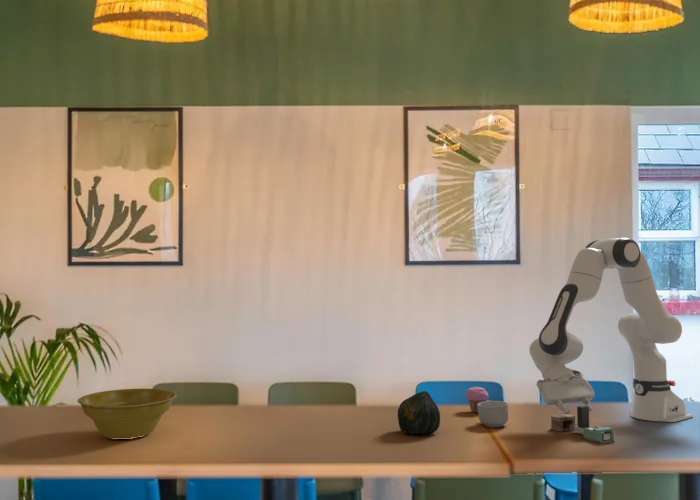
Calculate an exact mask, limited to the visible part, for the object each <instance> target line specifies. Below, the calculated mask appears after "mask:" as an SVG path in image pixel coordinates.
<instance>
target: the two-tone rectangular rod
mask: <svg viewBox="0 0 700 500" xmlns="http://www.w3.org/2000/svg"><path fill="white" fill-rule="evenodd" d="M576 412H577V413H576V414H577V417H576V419H577V423H575V424H571V425H570V430H569V431H572V432H576V433H580V434H583V435H584V428H589V429H592V430H593V429H594V428H593V427H590V412H589V407H587V406H585V405H578V406H576ZM608 439H610V433H607V432H602V440H608Z"/></svg>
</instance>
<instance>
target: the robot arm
mask: <svg viewBox="0 0 700 500" xmlns="http://www.w3.org/2000/svg"><path fill="white" fill-rule="evenodd" d="M615 268H616V269H617V271H618V276H619V277H618V278H619V281H620V285H621V289H622V291H623V292H622V293H623V296H624V299H625V302H626V303H627V304H628V306H631V307H632V308H633V310H634V312H630V313H626V314H623V315H622V316H621V317H620V319H619V320H618V323H617V325H618V331H619V333H620V335H621V336H622V337H623V338H624V339H625V340H626V342H627V344H628V346H629V350H630V351H631V355H632V360H633V376H634V378H633V379H632V387H633V389H634V390H633V392H632V401H631V402H632V404H631V409H630V417H632V418H635V419H639V420H642V421H649V422H650V421H651V422H665V423H675V422H679V421H683V420H688V419H691V418H693V414H692V413H690V412H686V405H685V402H684V400H683V399H682V398H681V397H679V396H678V395H677V394H676V393H674V392H673V391H672V389H671V387H675V386H677V385H676V381H675V380H668V378H667V377H668V375H667V359H666V358H665V356H664V355H663V354H661V352H660V351H659V350H658V347H657V345H656V344H658V345H659V344H661V345H666V344H672V343H675V342H677V341H678V340H680V338H681V336H682V333H683V327H682V324H681V322H680V320H679V319H678V318H676V317H675V316H674V315H673V314H672V313H670V312H669V311H668V309H667V308H666V306H664V304H663V303H662V301H661V299H660V297H659V295H658V292H657V290H656V286H655V283H654V280H653V275H652V271H651V269H650V266H649V263H648V261H647V259H646V256H645V255H644V253H643V252H642V251H641V249H640V246H639V244H638V243H637V242H636V241H635V240H634V239H632V238H628V237H611V238H610V237H609V238H607V239H606V238H605V239H600V240H599V239H598V240H594V241H592V242H591V241H590V242H589V243H588V244H587V245H586V246H585V247H584V248H582V249H580V250H579V251H578V253H577V255H576V256H575V259H574V260H573V263H572V265H571V269H570V271H569V275H568V278H567V281H566V283H565V285H564V286H563V287H562V288H561V290H560V292H559V293H558V296H557V298H556V300H555V303H554V305H553V308H552V311H551V313H550V316H549V318H548V320H547V322H546V324H545V325H544V326H543V328H542V329H541V331H540V332H539V335H538V337H537V338H536V339H534V340H533V341H532V342H531V343H530V344H529V345H530V346H529V355H530V357H531V359H532V362H533V363H534V365H535V367H536V368H537V370H538V371H539V372H540V373H541V377H542V378H543V379H538V380H537V381H536V387H537V388H538V392H539V394H540V397H541V398H542V400H543V402H544V403H545V404H546V405H547V406H551V405H552V406H553V405H555V406H556V408H558V409H559V410H560V411H562V414H569V415H570V413H571V410H570V407H568V406H566V405H565V404H572V403H573V404H574V403H582V404H584V406H587V407H589V413H590V412H591V411H592V410H593V407H592V406H591V401H592V400H593V399H594V397H595V394H596V393H595V390H594V389H593V387H592V386H591V384H590V382H589V381H587V379H586V378H584V377H583V376H584V374H583V373H582V371H580V370H576V369H572V368H569V367H566V365H567V364H570V363H572V362H574V361H575V360H577V359H578V358H579V357H580V356H581V355H582V353H583V350H584V345H583V342H582V340H581V339H580V337H578V336H577V335H575V334H573V333H571V332H569V331H568V330H567V326H568V322H569V320H570V318H571V316H572V312H573V309H574V307H575V306H576V305H577V304H579V303H582V302H585V303H586V302H588V301H591V300H593V299H594V298H595V297H596V296H597V294H598V292H599V289H600V287H601V282H602V278H603V274H604V271H605V270H606V269H615ZM635 311H636V312H635Z"/></svg>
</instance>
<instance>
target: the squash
mask: <svg viewBox="0 0 700 500" xmlns="http://www.w3.org/2000/svg"><path fill="white" fill-rule="evenodd" d="M440 413H441V412H440V409H439V406H438V405H437V403H436V402H435V401H434V398H432V396H431V394H430V393H429V392H428V391H427V390H426V391H420V392H417V393H415V394H413V395H412V396H411V395H410V397H408V398H406V399H404V400H403V401H402V402H401V403H400V405H399V407H398V409H397V420H398V426H399V429H400V431H402V433H404V434H406V435H412V436H413V435H417V434H427V433H430V434H434V433H435V432H437V431H438V429H439V427H440V424H441V414H440Z"/></svg>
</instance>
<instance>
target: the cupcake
mask: <svg viewBox="0 0 700 500" xmlns="http://www.w3.org/2000/svg"><path fill="white" fill-rule="evenodd" d="M465 398H466V399H467V400H468V402H469V403H468V404H469V410H470V411H471V412H472V413H475V414H478V406H477V404H478V403H480V402H484V401H488V400H489V393H488V391H487V390H486V389H485V388H484V387H480V386H472V387H469V388H468V389H467V390H466V393H465Z"/></svg>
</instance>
